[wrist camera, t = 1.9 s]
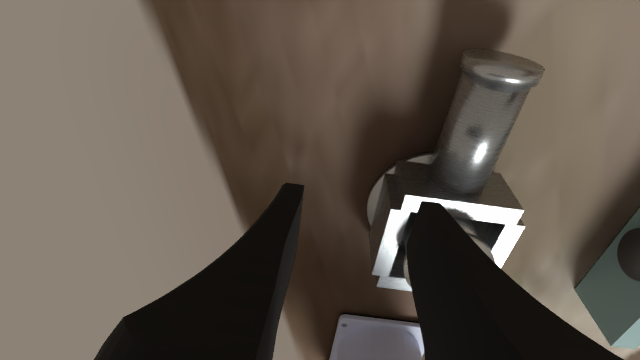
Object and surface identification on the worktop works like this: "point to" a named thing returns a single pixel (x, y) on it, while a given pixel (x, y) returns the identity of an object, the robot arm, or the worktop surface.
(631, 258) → the pale teal rectangular bar
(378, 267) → the elbow
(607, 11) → the worktop surface
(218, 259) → the robot arm
